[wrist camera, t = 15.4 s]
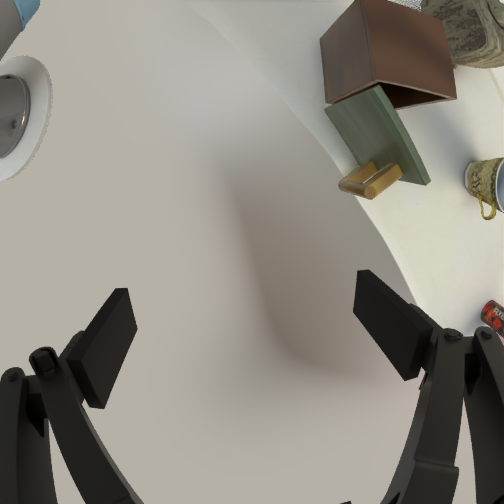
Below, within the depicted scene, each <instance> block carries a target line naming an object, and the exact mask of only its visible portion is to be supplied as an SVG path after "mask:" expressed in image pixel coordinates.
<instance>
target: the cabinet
mask: <svg viewBox="0 0 504 504" xmlns="http://www.w3.org/2000/svg"><path fill="white" fill-rule="evenodd" d="M320 45H321V54H322V64H323V74H324V86H325V100H326V103H328V104H335V103H338V102H340V101H342V100H344V99H347V98H349V97H351V96H353V95H356V94H358V93H360V92H363V91H365V90H367V89H370V88H372V87H375V86H377V85H380V86H381V88H382V89H383V91H384V93H385V94H386V96H387V97H388V99H389V101H390V102H391V104H392V106H393V107H394V109H395V110H399V109H404V108H409V107H414V106H419V105H425V104H430V103H436V102H443V101H449V100H456V99H457V94H456V86H455V79H454V73H453V67H452V61H451V56H450V51H449V46H448V42H447V37H446V33H445V29H444V25H443V21H441V20H439V19H437V18H434V17H432V16H429V15H427V14H425V13H422V12H419V11H417V10H414V9H411V8H409V7H406V6H403V5H400V4H397V3H394V2H391V1H387V0H355V1H354V2H353V3H352V4H351V5H350V6H349V7H348V8H347V9H346V11H345V12H344V13H343V14H342V15H341V16H340V17H339V18H338V19H337V20H336V21H335V23H334V24H333V25H332V26H331V27H330V28H329V29H328V30H327V31H326V33H325V34H324V35H323V36H322V37H321V38H320Z"/></svg>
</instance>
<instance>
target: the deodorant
mask: <svg viewBox="0 0 504 504" xmlns="http://www.w3.org/2000/svg"><path fill="white" fill-rule="evenodd" d="M481 320H482V321H483V322H485V323H486V324H487V325H488V326H490V327H491V328H492V329H493V330H495V331H496V332H497V333H498V334H499V335H501V336H502V337H503V338H504V308H503V307H502V306H501V305H499V304H498V303H496V302H495V301H493V300H491V301H489V302H488V303H487V304H486V305H485V307H484V309H483V311H482V313H481Z"/></svg>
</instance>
